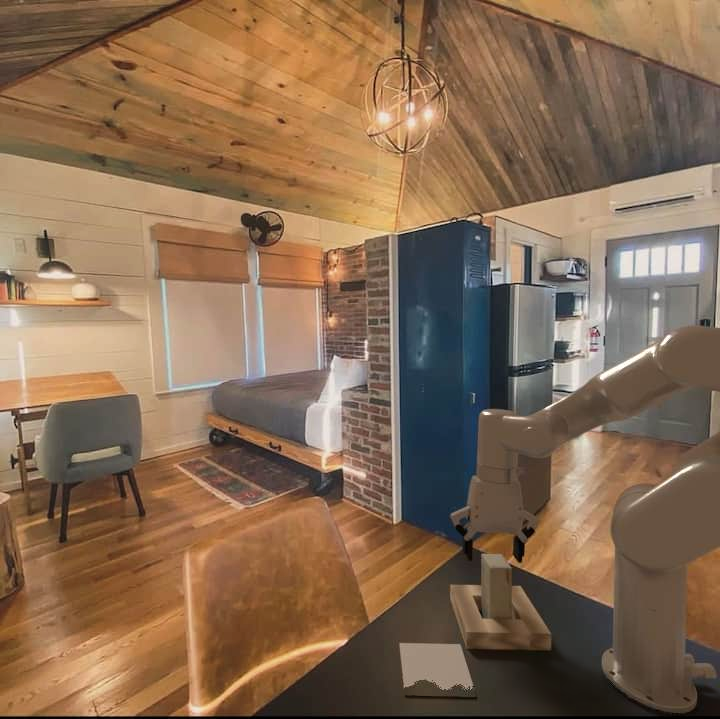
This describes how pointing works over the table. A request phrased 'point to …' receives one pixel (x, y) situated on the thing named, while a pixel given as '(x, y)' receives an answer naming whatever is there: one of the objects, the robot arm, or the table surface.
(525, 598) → the holder
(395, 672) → the table surface
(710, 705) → the table surface
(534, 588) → the table surface
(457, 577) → the table surface
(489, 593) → the skincare box
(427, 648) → the mat
